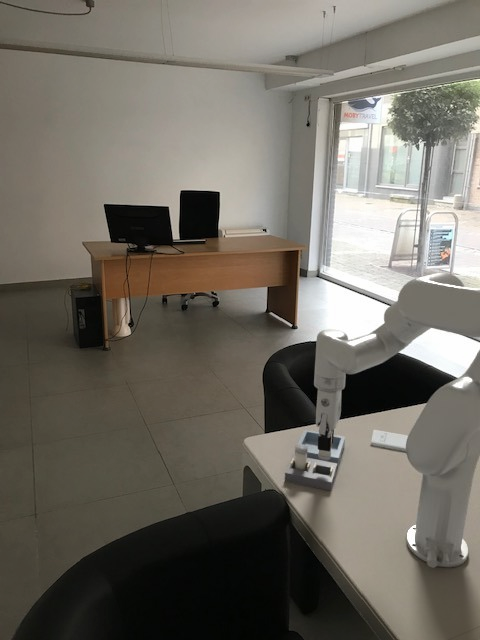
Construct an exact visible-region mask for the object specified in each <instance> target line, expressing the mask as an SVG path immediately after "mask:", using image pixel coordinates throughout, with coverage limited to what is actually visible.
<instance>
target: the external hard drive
mask: <svg viewBox="0 0 480 640" xmlns="http://www.w3.org/2000/svg"><path fill="white" fill-rule="evenodd" d="M408 435H409V434H408ZM408 435H407V434H400V433H395V432H389V431H383V430H378V429H373V431H372V435H371V441H370V446H372V445H373V447H378V448H383V447H385V448H384V449H389V448H391V449H390V450H394V449H396V450H395V451H399V450H402V451H401V452H405V451H406V441H407V438H408Z"/></svg>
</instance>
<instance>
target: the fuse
mask: <svg viewBox="0 0 480 640" xmlns="http://www.w3.org/2000/svg"><path fill="white" fill-rule="evenodd" d="M294 448H295V449H294V455H295V469H297V470H302V471H306V461H307V451H308V447H307V446H306V445H303V444H298V443H297V444H296V445H295V447H294Z"/></svg>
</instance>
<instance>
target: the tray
mask: <svg viewBox="0 0 480 640" xmlns="http://www.w3.org/2000/svg"><path fill="white" fill-rule="evenodd" d="M318 435H319V431H314V430H308V429H304V430H303V432H302V434H301V436H300V438H299V441H298V442H297V445H298V444H303V445H306V446H307V447H308V451H307V458H312V459H317V460H321V459H320V458H319V457H318V452H319V450H318ZM345 444H346V436H342V435H336V434H334V437H333V444H332V445H331V458H330V459H329V460H322V461H327V462H332V463H337V469H338V467H339V465H340V462H341V459H342V456H343V452H344V449H345Z"/></svg>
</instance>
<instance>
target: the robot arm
mask: <svg viewBox="0 0 480 640" xmlns="http://www.w3.org/2000/svg"><path fill="white" fill-rule="evenodd" d="M383 321H384V322H383V324H381V325H380V326H379V327H377V328H375V329H374V330H373V331H372V332H370V333H368V334H365V335H362V336H358V337H355V338H352V339H349V337H348V335H347V333H345V332H343V331H341V330H339V329H323V330H321V331H319V332H318V333H317V336H316V341H315V342H316V344H315V345H316V347H315V358H314V359H315V360H314V378H313V379H314V380H313V385H314V387H315V388H316V389H317V395H316V396H317V397H316V399H317V400H316V407H315V408H316V411H315V425H316V427H317V428H318V429H319V430H318V432H319V435H318V450H323V451H330V450H331V436H330V434H331V429H333V434H332V444H333V437H334V435H335V434H334V433H335V429H336V428H337V425H338V423H339V421H340V417H341V412H342V390H344V389H345V387H346V377H347V376H346V374H347V375H355V374H358V373H360V372H362V371H365V370H367V369H371V368H373V367H375V366H378V365H380V364H383V363H385V362H386V361H388V360H390V358H392V357H394V356H395V355H397V354H398V353H400V352H402V351H403V350H404V349H405V348H407V347H408V346H409V345H410V344H411V343H413V341H414V340H416V339H418V337H420V336H422V335H423V334H425V333H426V332H427V331H429V330H431V329H434V330H439V331H444V332H446V333H452V334H455V335H460V336H465V337H470V338H480V286H478V287H474V288H473V287H465V285H464V283H463V282H462V280H461V279H459V278H458V277H457V276H456V275H454V274H452V273H448V272H437V273H433V274H427V275H424V276H419V277H415V278H413V279H410V280H409V281H407V282H406V283H405V284H404V285H403V286H402V287H401V290H400V291H399V292H398V296H397V300H396V301H395V302H394V303H392V304H391V305H390V306H389V307H387V308H386V309H385V311H384V314H383ZM326 429H328V431H327V430H326ZM405 453H406V457H407V460H408V462H409V464H410V465H411V466H412V467H413V469H415V471H417V472H418V473H420V474H422V479H421V485H420V491H419V500H418V508H417V513H416V523H415V524H414V525H413V526H411V527H410V528H409V529H408V530H407V533H406V538H405V539H406V544H407V547H408V548H409V550H410V551H411V552H412V553H413V555H414V556H416V557H417V558H418V559H420V560H422V561H424V562H425V563H426V564H427V566H428V567H430V568H432V569H434V568H436V567H442V568H454V567H458V566H461V565H462V564H464V563H465V562H466V561H467V559H468V555H469V546H468V543H467V542H466V540H465V539H464V538H463V537H464V532H465V526H466V519H467V513H468V508H469V502H470V496H471V491H472V487H473V480H474V475H475V471H476V468H477V465H478V462H479V459H480V349H479V350H478V351H477V354H476V355H475V356H474V359H473V360H472V362H471V363H470V365H469V367H468V368H467V369H466V371H464V373H463V374H461V376H459V377H457V378H456V379H454V380H452V381H450V382H447V383H446V384H444V385H443V386H441V387H439V388H438V389H437V390H436V391H435V392H434V393H433V394H432V395H431V396H430V398H429V399H428V401H427V402H426V404H425V406H423V409H422V411H421V412H420V414H419V416H418V417H417V419H416V421H415V423H414V425H413V426H412V428H411V429H410V431H409V433H408V438H407V441H406V452H405Z"/></svg>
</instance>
